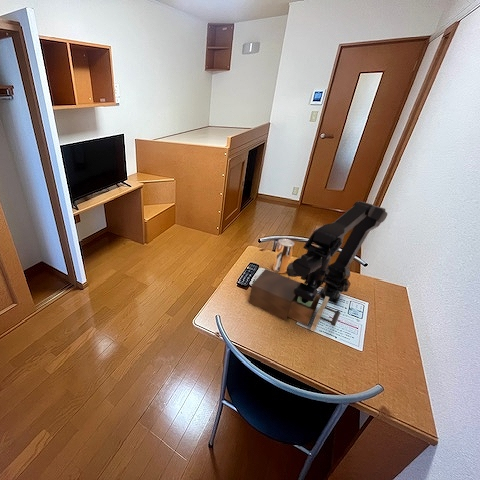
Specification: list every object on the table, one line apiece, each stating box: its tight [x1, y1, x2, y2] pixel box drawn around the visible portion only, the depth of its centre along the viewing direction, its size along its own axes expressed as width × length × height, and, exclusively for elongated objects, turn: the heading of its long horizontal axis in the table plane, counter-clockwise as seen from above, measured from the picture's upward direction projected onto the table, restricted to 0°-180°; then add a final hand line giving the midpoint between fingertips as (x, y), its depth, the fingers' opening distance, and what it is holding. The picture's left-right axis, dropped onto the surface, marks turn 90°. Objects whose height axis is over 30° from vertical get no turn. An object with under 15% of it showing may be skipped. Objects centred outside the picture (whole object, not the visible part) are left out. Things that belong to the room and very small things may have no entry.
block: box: [297, 296, 313, 307], centre depth 93 cm, size 4×4×4 cm
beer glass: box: [272, 238, 296, 274], centre depth 118 cm, size 7×7×15 cm
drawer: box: [287, 294, 341, 332], centre depth 94 cm, size 18×11×8 cm, turn 48°
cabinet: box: [248, 268, 301, 321], centre depth 102 cm, size 15×13×10 cm
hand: (306, 298), depth 94 cm, fingers closed on block, 4 cm apart
